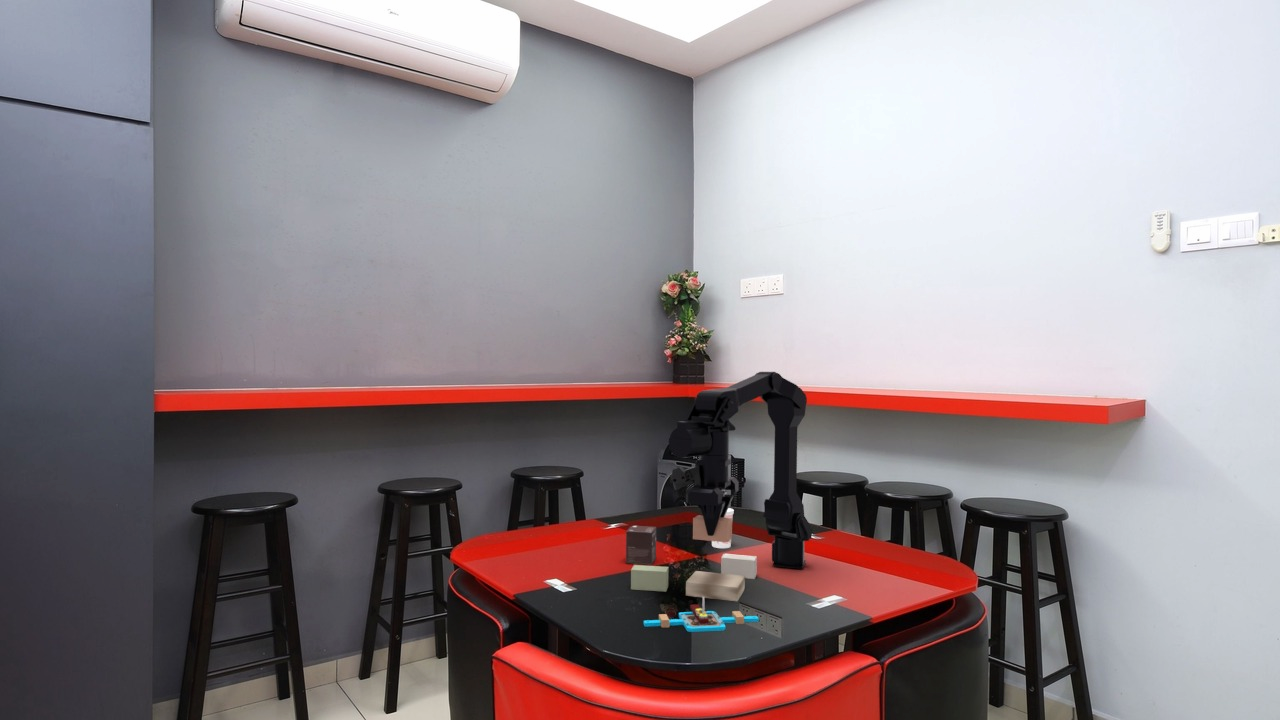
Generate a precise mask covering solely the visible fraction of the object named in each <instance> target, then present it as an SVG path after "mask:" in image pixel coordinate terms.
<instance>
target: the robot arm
mask: <svg viewBox="0 0 1280 720" xmlns="http://www.w3.org/2000/svg"><path fill="white" fill-rule="evenodd" d="M757 398H760V400H762V401H763V402H764V403H765V404H766V408H767V415H768V417H769V418H770V420H771V422H772V424H773V426H774V450H773V451H774V454H773V455H774V461H773V462H774V463H773V492H772V493H771V494H770V497H769V498H765V500H764V501H763V504H764V512H763V515H762V516H763V518H764V522H765V525H766V532H767V535H768V536H774V540H773V541H772V543H771V561H772V566H773V567H776V568H777V567H778V568H788V569H796V570H797V569H798V570H802V569H803V568H804V567H805V564H806V559H805V542H809V541H810V539H812V537H813V531H814V529H813V527H812V526H811V524H810V523H809V521H808V519H807V518H806V516H805V508H804V503H803V501H802V500H801V497H800V496H799V494H798V493H797V484H798V483H797V477H798V475H797V472H798V471H797V469H798V467H797V466H798V465H797V464H798V427H799V425H800V424H801V422H802V421H803V419H804V418H805V415H806V407H807V404H808V403H807V402H808V397H807V395H806V393H805V392H804V390H803V389H802V388H801V387H799V386H798V385H797V384H795V383H794V382H791V381H790V380H788V379H786V378H784V377H783V376H782V375H781V374H780V373H778V372H776V371H759V372H756V373H755V374H754V375H752V376H750V377H748V378H746V379H743V380H740V381H739V382H736V383H734V384H731V385H730V386H727V387H724V388H712V389H706V390H705V389H704V390H701V391H699V392H697V394H696V397H695V400H694V401H693V404H692V406H691V408H690V409H689V412H688V414H687V416H686V418H685V420H684V421H682V420H681V421H677V422H676V428H675V429H673V430H672V432H671V434H670V435H669V438H668V447H669V451H670V452H671V454H672V455H673V456H675V457H677V458H679V459H683V458H691V457H699V458H698V459H696V461H694V463H695V464H694V465H695V466H692V467H689V468H687V469H684V468H683V467H682V466H679V467H677V468H673V469H672V470H671V474H669V477H670V479H669V482H670V484H673V488H674V490H675V491H678V490H680V489H681V488H683V487H686V486H690V485H693V484H694V486H692V487H691V488H689V489H688V490H687V491H686V492H685V504H686V503H687V504H694V505H695V506H697V507H698V508H699V510H700V511H701V513H702V515H701V516H703V519H704V522H705V526H706V530H707V534H708V536H713V535H714V533H715V530H716V527H717V525H718V522H719V519H720V517H723V518H724V517H725V515H726V512H727V510H728V508H730V505H731V504H732V503H731V502H732V501H733V498H734V497H735V496H734V494H728V491H732V493H737V492H738V491H739V483H740V482H739V480H738V479H737V478H736V477H735V476H729V465H731V464H732V458H730V456H729V454H730V453H729V451H730V450H729V444H730V443H729V441H730V435H729V434H730V432H731V431H732V432H733V431H736V426H735V425H734V424H733V423H732V422H731V421H730V420H731V419H732V418H733V417H734V416H735V415H736V414H738V413H739V411H740V407H741V406H743V405H745V404H747V403H749V402H751V401H753V400H756V399H757Z"/></svg>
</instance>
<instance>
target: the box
mask: <svg viewBox="0 0 1280 720" xmlns="http://www.w3.org/2000/svg"><path fill="white" fill-rule="evenodd" d="M625 532H626V533H625V535H626V537H625V563H626V564H633V565H646V566H652V565H653V564H654V562H655V561H656V559H657V527H656V526H646V525H645V526H644V525H643V526H642V525H631V526H630V527H628V529H627V530H626V531H625Z"/></svg>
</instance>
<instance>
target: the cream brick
mask: <svg viewBox="0 0 1280 720" xmlns="http://www.w3.org/2000/svg"><path fill="white" fill-rule="evenodd" d="M757 557H758V556H756V555H746V554H745V555H743V554H733V553H732V554H731V553H723V554H722V556H721V557H720V559H721V560H720V561H721V562H720V563H721V565H720V573H721V574H731V575H741V576H745V579H749V580H755V579H756V577H757V575H758V573H757V570H758V569H757V567H758V564H757V563H758V561H757V560H758V558H757Z"/></svg>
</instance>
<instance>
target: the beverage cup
mask: <svg viewBox="0 0 1280 720" xmlns="http://www.w3.org/2000/svg"><path fill="white" fill-rule="evenodd" d="M734 511H735V510H734V509H733V508H731V507H729V508H728V510H727V512H726V515H725V517H724V518H732V519H733V518H734V517H733V515H734ZM731 544H732V539H731V540H730V541H729V542H718V541H711V546H712V547H713V548H715V549H716V548H717V549H729V548H731Z"/></svg>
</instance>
